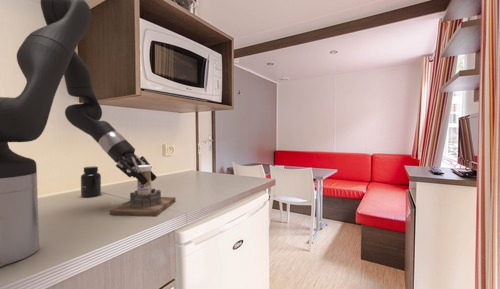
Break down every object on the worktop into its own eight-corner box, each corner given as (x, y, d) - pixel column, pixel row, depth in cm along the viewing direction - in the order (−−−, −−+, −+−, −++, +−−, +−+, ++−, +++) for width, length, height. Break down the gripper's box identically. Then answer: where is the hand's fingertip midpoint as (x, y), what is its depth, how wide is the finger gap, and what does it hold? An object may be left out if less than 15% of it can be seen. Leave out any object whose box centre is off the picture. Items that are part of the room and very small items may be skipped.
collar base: (155, 216, 70) (155, 199, 69) (109, 215, 70) (109, 198, 70) (175, 201, 86) (175, 187, 85) (137, 200, 86) (137, 186, 86)
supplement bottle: (77, 198, 88) (77, 168, 88) (85, 193, 95) (84, 166, 94) (97, 197, 90) (96, 168, 90) (103, 192, 97) (103, 165, 96)
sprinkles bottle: (136, 205, 75) (135, 166, 74) (138, 201, 79) (137, 164, 79) (151, 204, 76) (150, 166, 76) (152, 200, 81) (151, 164, 80)
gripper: (110, 139, 70) (147, 177, 70) (135, 138, 84) (166, 170, 84) (94, 156, 71) (131, 193, 70) (122, 152, 85) (153, 183, 85)
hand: (150, 180), depth 77 cm, fingers open, 5 cm apart
